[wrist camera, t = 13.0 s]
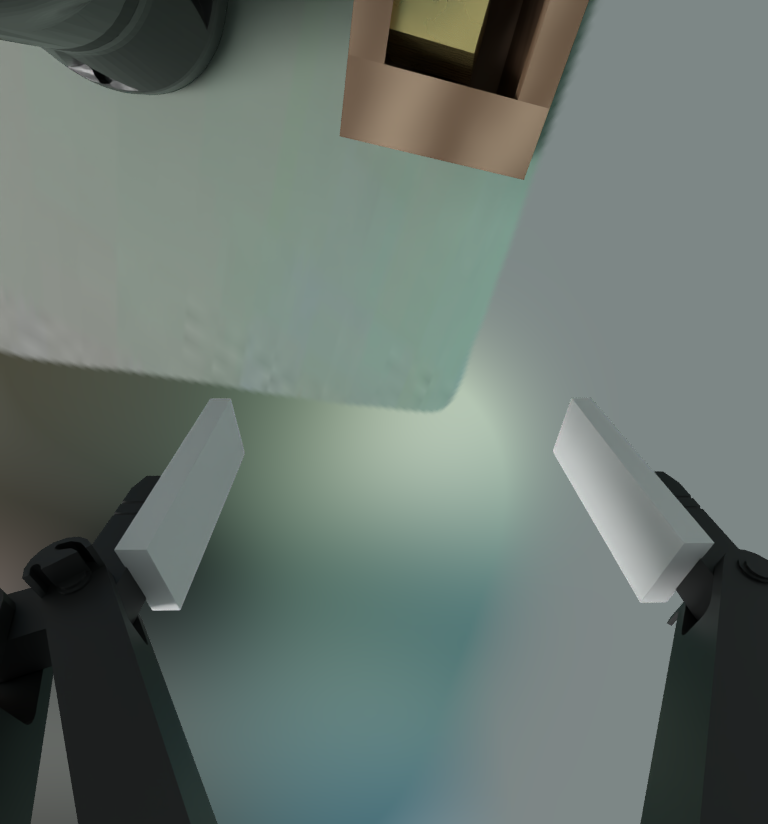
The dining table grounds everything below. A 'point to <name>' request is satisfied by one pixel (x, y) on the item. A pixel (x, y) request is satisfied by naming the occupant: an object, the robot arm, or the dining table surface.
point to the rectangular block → (438, 35)
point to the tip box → (462, 87)
